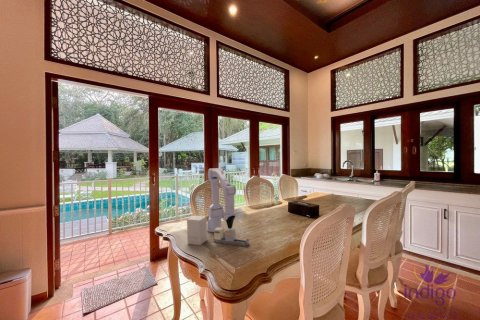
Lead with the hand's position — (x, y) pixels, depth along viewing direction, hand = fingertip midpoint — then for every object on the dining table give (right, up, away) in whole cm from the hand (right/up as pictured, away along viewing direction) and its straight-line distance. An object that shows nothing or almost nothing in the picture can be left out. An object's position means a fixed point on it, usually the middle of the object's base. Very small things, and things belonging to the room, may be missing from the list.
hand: (230, 228), depth 125 cm
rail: (0, -9, 0) cm, 9 cm away
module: (0, -7, 0) cm, 7 cm away
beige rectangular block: (-7, -7, +2) cm, 10 cm away
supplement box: (-20, -10, +3) cm, 22 cm away
